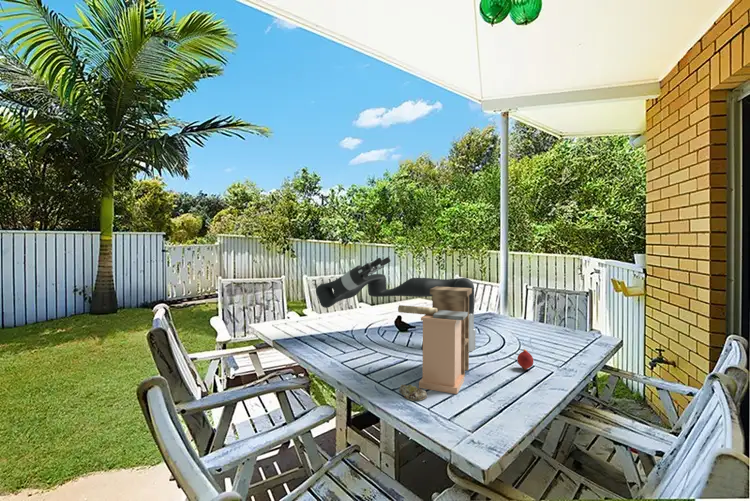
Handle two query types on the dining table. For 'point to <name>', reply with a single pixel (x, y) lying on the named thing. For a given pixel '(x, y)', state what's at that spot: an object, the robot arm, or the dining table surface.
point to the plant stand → (455, 302)
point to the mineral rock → (412, 392)
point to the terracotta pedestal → (441, 355)
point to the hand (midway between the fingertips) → (385, 259)
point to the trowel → (433, 312)
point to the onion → (525, 359)
